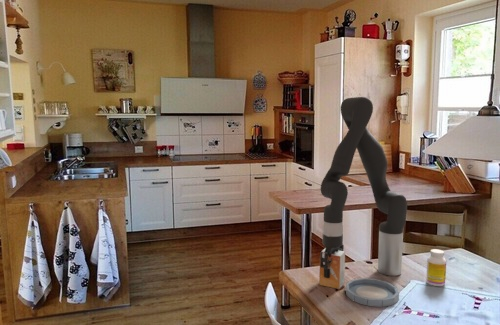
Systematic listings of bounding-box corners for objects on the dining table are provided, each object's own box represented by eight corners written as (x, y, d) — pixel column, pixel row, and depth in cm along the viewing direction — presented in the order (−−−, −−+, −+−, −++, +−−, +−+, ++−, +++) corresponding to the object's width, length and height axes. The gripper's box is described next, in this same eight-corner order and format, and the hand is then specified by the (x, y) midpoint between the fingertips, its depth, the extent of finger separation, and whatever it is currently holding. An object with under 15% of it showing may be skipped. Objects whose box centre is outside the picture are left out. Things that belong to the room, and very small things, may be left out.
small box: (318, 285, 156) (319, 252, 154) (324, 279, 161) (325, 247, 159) (339, 289, 152) (340, 256, 150) (344, 283, 157) (345, 250, 155)
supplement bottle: (447, 287, 153) (449, 254, 151) (428, 286, 154) (430, 253, 153) (442, 280, 159) (444, 248, 158) (424, 279, 161) (426, 247, 159)
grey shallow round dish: (359, 280, 160) (359, 274, 159) (405, 293, 148) (405, 286, 148) (337, 296, 146) (337, 290, 146) (386, 312, 135) (386, 305, 134)
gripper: (333, 226, 162) (332, 266, 164) (314, 235, 151) (313, 277, 153) (350, 230, 157) (349, 271, 159) (332, 239, 146) (331, 283, 148)
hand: (331, 274), depth 156 cm, fingers open, 7 cm apart
